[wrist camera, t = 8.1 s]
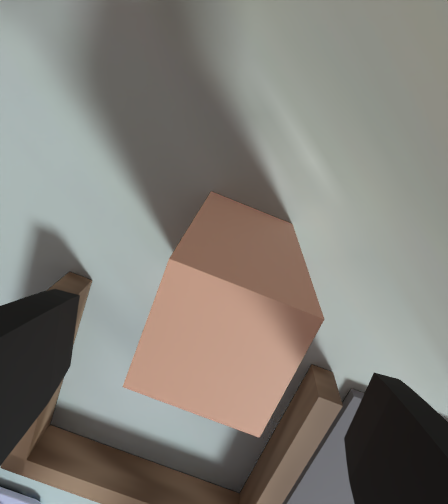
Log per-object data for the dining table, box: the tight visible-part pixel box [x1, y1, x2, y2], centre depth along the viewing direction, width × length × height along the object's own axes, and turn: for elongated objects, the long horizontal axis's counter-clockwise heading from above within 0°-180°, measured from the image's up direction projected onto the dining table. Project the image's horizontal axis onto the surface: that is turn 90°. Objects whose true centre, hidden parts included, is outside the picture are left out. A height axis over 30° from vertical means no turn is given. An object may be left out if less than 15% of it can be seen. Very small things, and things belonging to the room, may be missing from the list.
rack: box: [1, 272, 343, 504], centre depth 21 cm, size 14×11×2 cm
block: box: [123, 191, 324, 438], centre depth 14 cm, size 4×4×9 cm
